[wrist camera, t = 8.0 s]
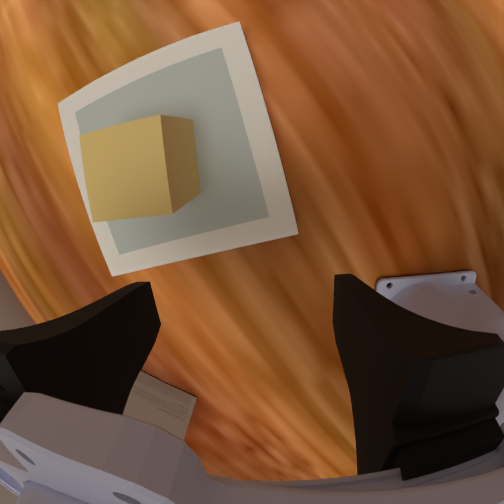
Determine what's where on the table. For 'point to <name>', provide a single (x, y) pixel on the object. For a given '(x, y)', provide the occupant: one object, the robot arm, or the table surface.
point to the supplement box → (160, 404)
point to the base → (207, 150)
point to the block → (140, 168)
